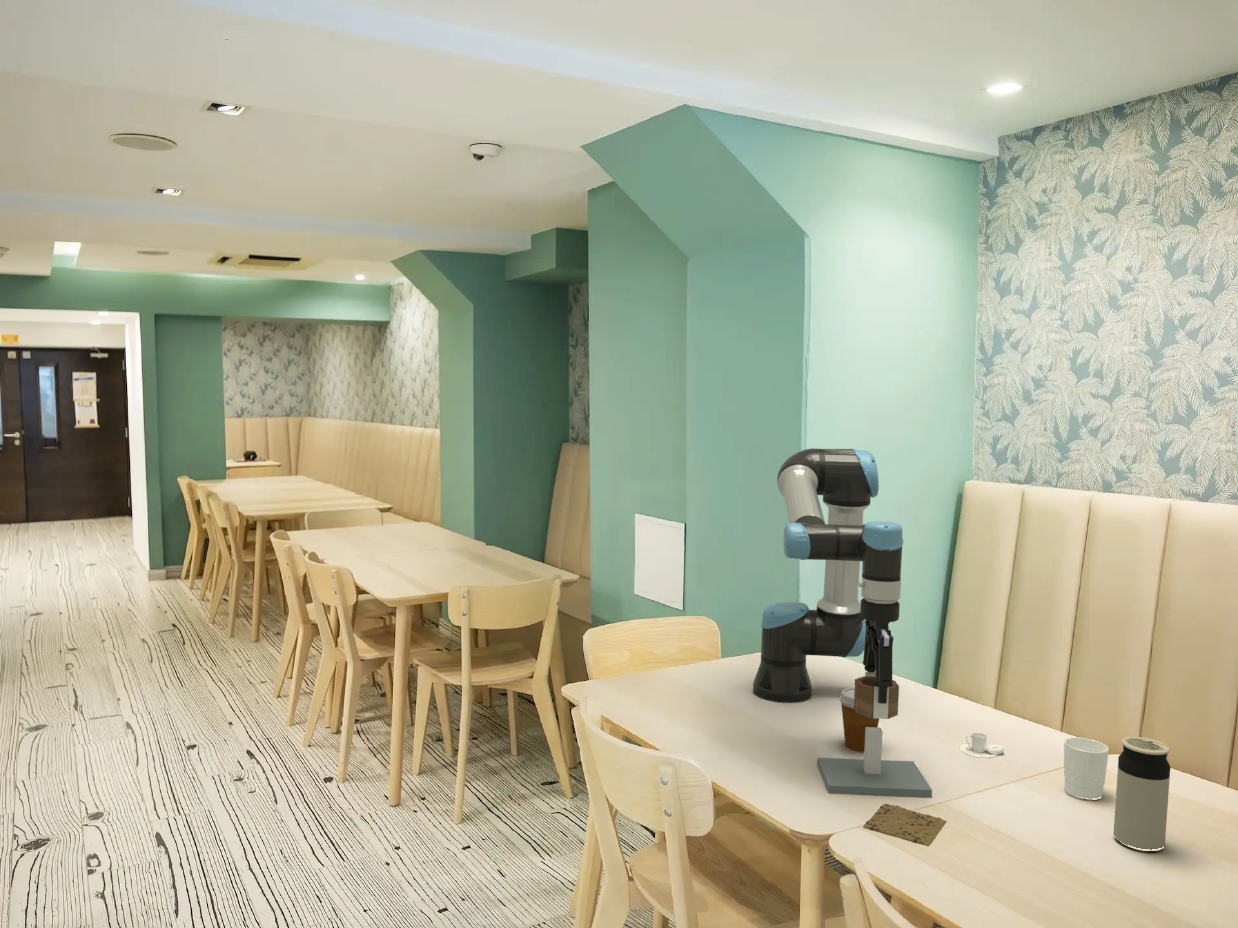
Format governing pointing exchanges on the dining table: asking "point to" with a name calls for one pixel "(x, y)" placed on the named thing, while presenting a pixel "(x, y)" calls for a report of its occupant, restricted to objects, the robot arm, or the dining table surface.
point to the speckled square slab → (905, 824)
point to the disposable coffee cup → (854, 722)
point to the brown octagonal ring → (866, 697)
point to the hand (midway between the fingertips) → (875, 710)
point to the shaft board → (873, 773)
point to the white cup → (1085, 767)
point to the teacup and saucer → (981, 746)
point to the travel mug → (1142, 793)
